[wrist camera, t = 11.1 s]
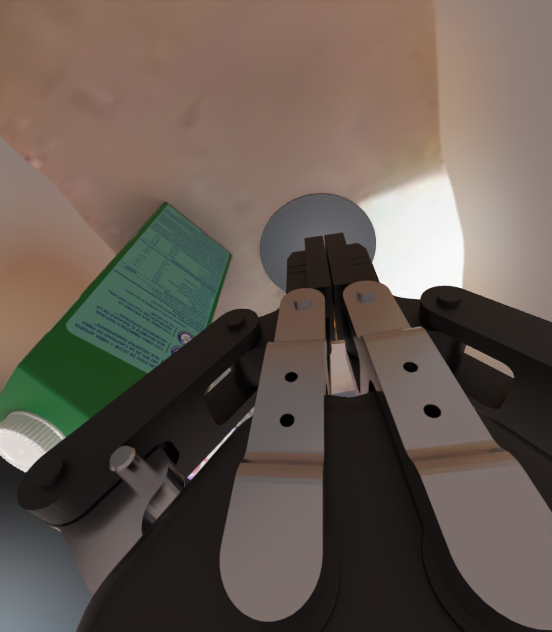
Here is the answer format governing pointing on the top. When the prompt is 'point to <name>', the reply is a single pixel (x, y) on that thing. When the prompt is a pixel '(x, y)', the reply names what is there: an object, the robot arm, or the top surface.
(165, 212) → the milk carton
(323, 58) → the top surface
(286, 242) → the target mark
